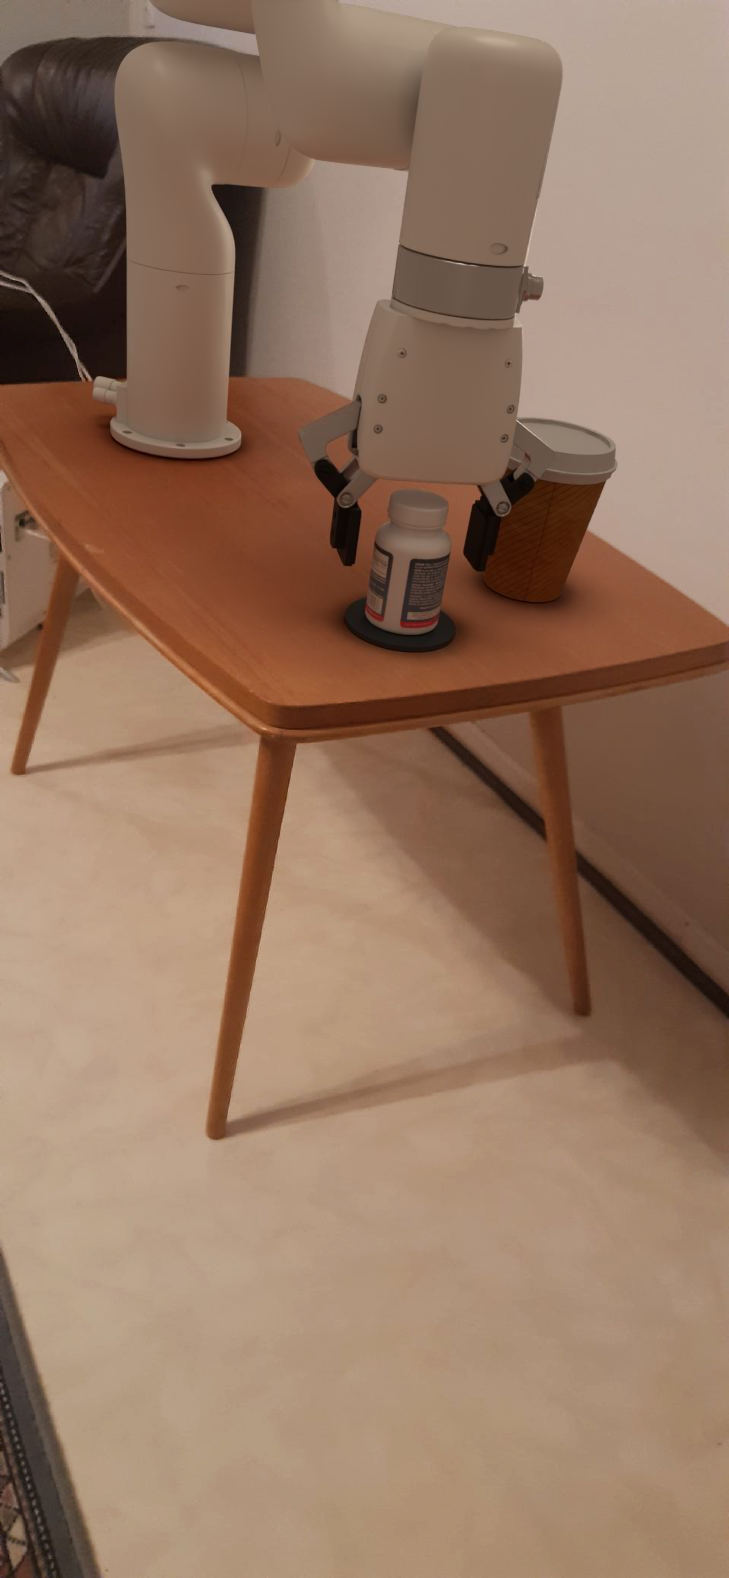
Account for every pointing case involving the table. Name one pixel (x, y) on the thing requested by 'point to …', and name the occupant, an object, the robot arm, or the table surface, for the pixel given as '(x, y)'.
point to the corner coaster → (394, 641)
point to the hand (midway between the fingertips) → (410, 560)
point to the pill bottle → (409, 564)
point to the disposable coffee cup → (550, 512)
